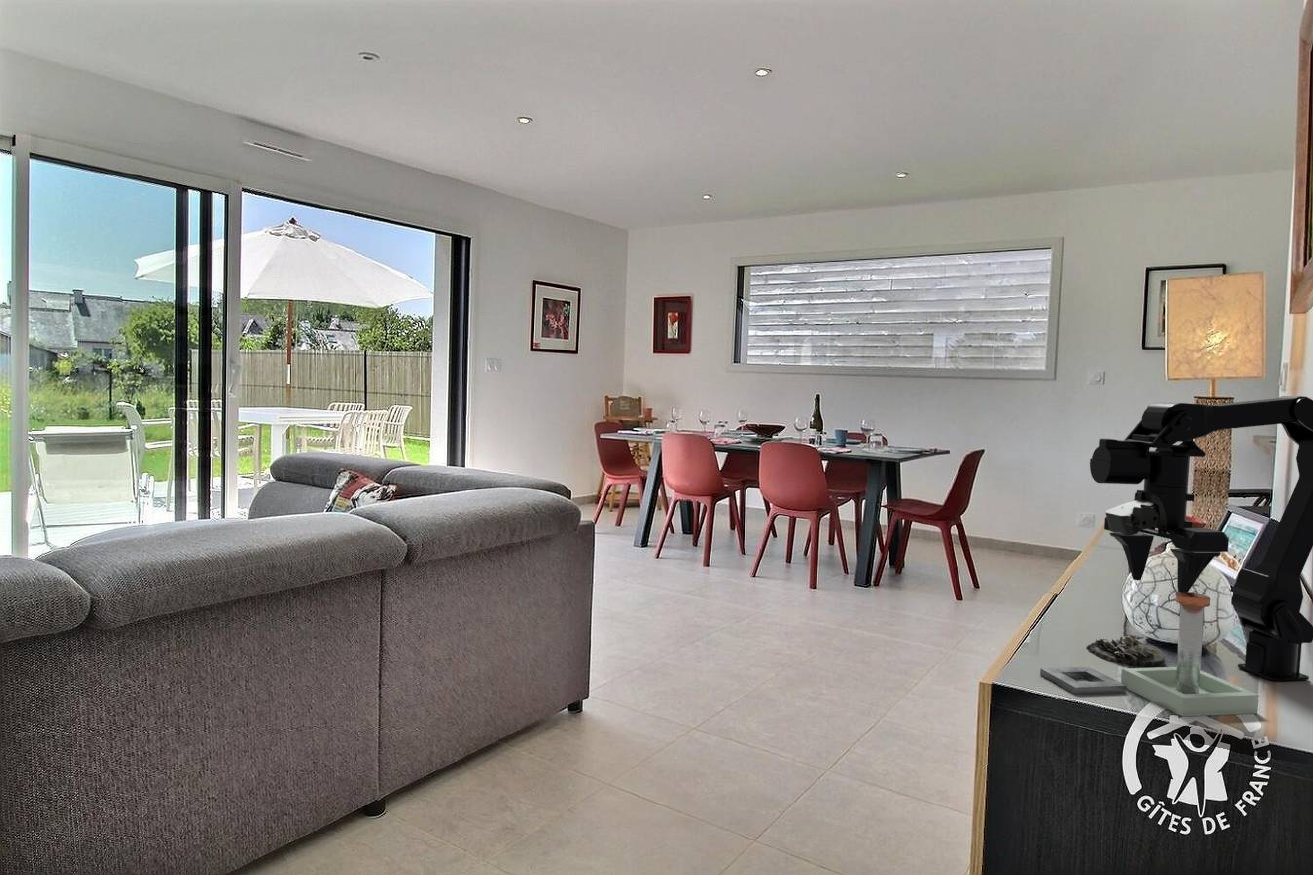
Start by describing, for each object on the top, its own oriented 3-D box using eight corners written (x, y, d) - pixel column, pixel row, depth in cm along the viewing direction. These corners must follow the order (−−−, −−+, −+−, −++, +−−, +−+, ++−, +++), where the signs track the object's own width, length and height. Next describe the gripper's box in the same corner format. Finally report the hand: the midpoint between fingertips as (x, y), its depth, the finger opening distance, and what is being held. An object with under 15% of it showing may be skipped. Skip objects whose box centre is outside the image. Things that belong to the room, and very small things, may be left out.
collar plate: (1088, 673, 126) (1088, 666, 126) (1126, 692, 118) (1126, 685, 118) (1040, 674, 125) (1040, 668, 125) (1074, 694, 117) (1075, 687, 117)
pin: (1181, 687, 119) (1186, 590, 118) (1210, 697, 116) (1216, 597, 115) (1163, 691, 117) (1169, 593, 116) (1193, 701, 114) (1199, 600, 113)
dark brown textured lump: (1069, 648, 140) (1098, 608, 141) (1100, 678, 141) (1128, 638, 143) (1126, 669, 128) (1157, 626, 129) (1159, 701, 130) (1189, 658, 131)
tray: (1190, 682, 123) (1191, 666, 123) (1257, 713, 112) (1258, 694, 112) (1120, 685, 121) (1121, 668, 121) (1181, 716, 110) (1183, 697, 110)
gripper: (1076, 477, 134) (1071, 573, 135) (1165, 493, 116) (1157, 604, 117) (1138, 478, 136) (1132, 573, 137) (1235, 493, 117) (1227, 603, 118)
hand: (1158, 587), depth 127 cm, fingers open, 9 cm apart
